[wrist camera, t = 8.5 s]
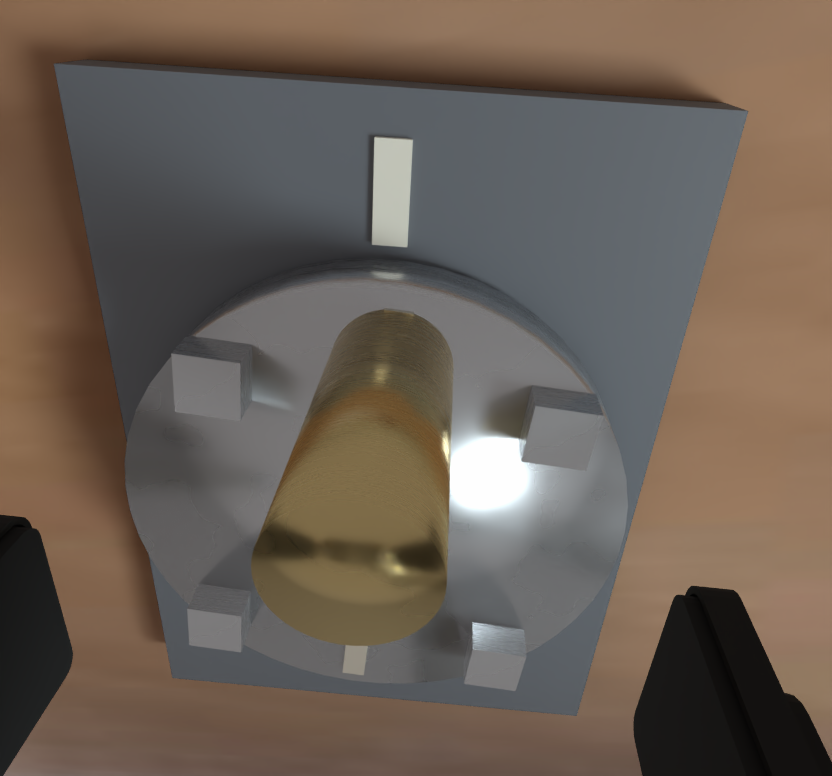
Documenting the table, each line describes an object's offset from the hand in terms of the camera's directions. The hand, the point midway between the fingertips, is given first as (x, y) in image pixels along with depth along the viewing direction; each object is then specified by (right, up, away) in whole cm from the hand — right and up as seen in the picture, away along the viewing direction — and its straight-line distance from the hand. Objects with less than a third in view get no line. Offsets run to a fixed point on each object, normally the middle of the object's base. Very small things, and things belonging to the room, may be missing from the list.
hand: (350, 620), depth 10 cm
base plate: (0, +2, +12) cm, 12 cm away
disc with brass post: (0, +1, +11) cm, 11 cm away
